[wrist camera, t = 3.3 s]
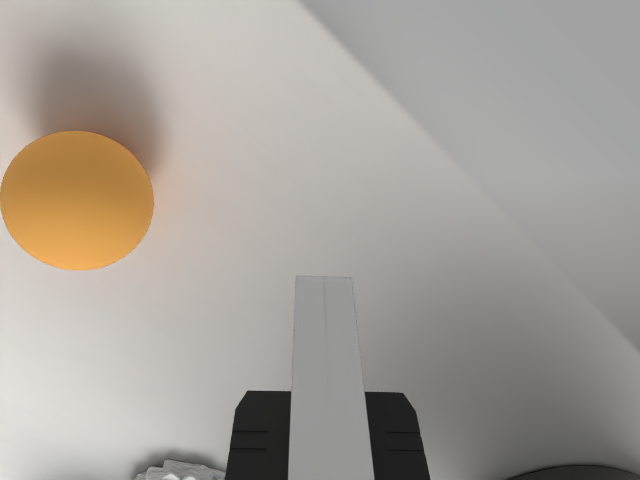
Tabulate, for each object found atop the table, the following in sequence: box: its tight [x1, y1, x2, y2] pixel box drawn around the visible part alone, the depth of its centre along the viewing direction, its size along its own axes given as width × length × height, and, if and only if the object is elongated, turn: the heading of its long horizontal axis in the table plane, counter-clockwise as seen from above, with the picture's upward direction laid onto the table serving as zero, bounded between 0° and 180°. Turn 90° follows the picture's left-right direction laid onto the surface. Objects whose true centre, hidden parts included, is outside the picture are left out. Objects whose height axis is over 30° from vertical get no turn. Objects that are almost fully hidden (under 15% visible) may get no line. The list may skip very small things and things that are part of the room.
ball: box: [0, 131, 154, 270], centre depth 21 cm, size 6×6×6 cm
